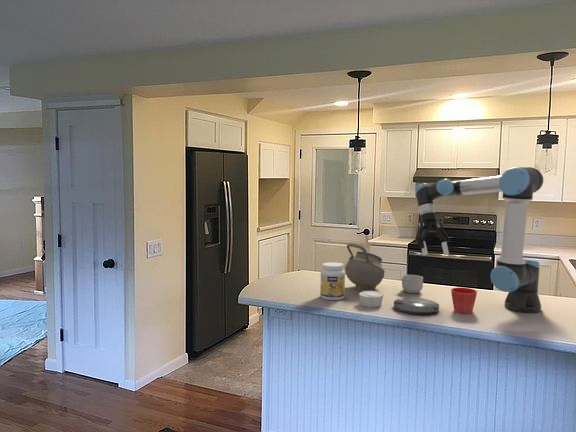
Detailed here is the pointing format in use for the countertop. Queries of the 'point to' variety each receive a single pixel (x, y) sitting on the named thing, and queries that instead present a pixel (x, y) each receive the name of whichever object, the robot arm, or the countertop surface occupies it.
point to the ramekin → (371, 298)
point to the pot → (364, 269)
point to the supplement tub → (332, 281)
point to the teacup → (412, 283)
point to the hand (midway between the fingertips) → (436, 254)
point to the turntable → (416, 305)
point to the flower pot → (463, 299)
